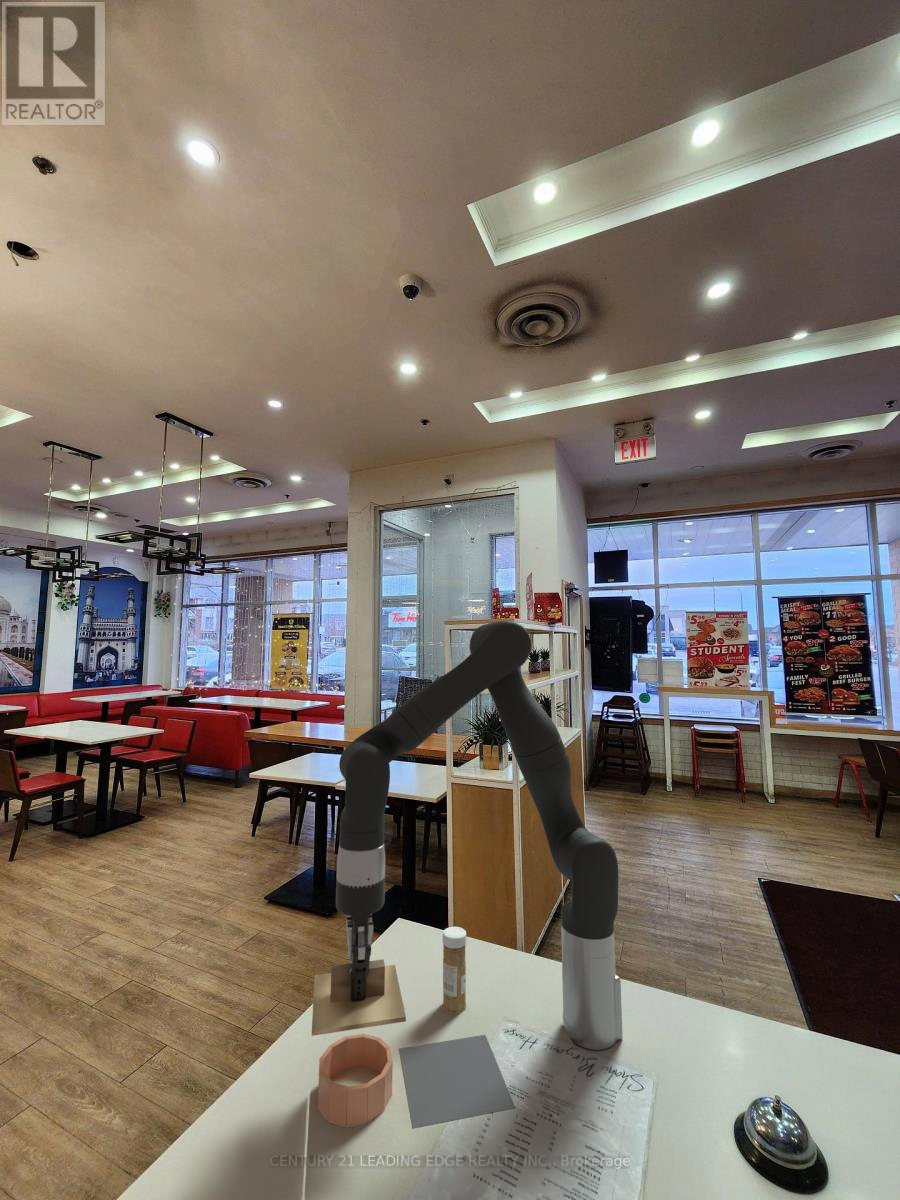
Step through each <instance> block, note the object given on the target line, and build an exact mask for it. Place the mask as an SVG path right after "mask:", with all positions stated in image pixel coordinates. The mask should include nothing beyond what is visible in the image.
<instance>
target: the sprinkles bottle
mask: <svg viewBox="0 0 900 1200" xmlns="http://www.w3.org/2000/svg"><path fill="white" fill-rule="evenodd" d="M442 945H443V949H442V950H443V951H442V952H443V953H442V955H443V959H442V992H443V993H442V995H443V996H442V997H443V998H442V999H443V1002H442V1009H443V1010H444V1011H445V1012H446V1013H448V1014H451V1015H459V1014H462V1013H463V1012H465V1011H466V1010H467V1002H466V1000H467V997H466V996H467V995H466V994H467V992H466V991H467V973H466V972H467V971H466V969H467V966H466V965H467V963H466V945H467V931H466V930H465V929H464V928H462V927H459V926H450V927H447V928H445V929H444V930H443V932H442Z"/></svg>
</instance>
